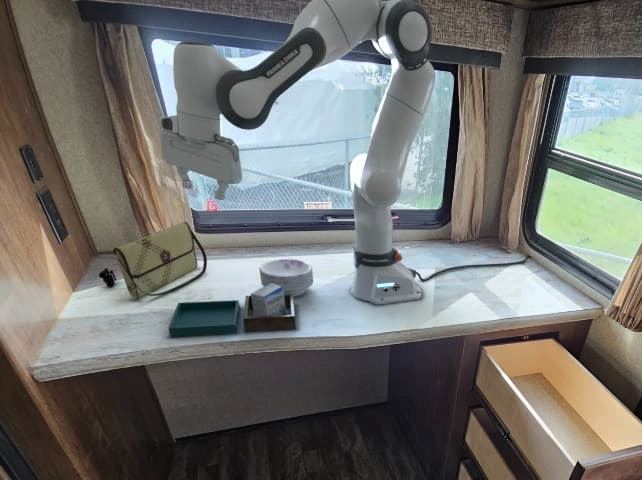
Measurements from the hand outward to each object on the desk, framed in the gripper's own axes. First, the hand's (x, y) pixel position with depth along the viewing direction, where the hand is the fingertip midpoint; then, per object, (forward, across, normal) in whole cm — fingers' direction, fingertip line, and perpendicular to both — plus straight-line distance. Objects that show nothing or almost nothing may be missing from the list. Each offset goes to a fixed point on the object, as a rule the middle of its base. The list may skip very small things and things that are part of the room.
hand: (203, 193), depth 104 cm
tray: (+31, -5, +6) cm, 32 cm away
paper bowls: (+27, -11, -20) cm, 36 cm away
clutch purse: (+32, +20, -7) cm, 38 cm away
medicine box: (+29, -18, -4) cm, 34 cm away
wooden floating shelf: (+28, -18, -4) cm, 34 cm away
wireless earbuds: (+35, +33, +3) cm, 48 cm away
